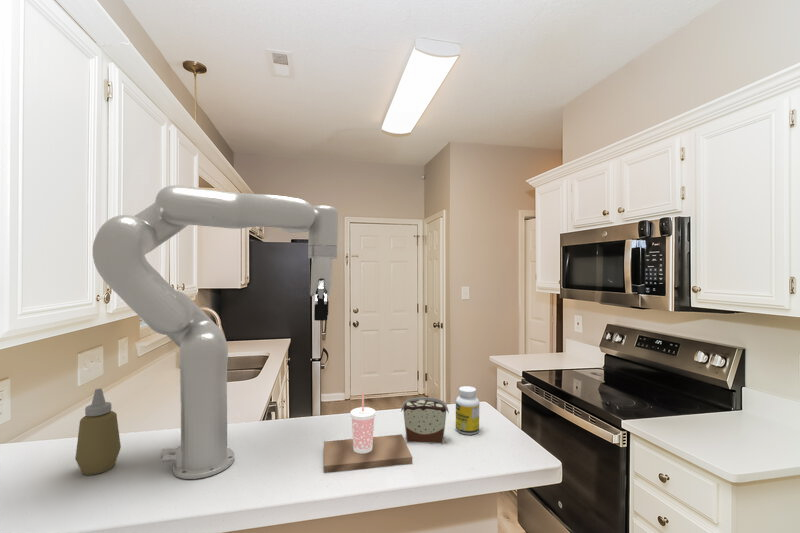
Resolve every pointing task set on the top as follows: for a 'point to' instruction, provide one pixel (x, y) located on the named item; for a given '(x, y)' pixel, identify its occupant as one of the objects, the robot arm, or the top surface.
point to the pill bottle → (467, 411)
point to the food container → (424, 420)
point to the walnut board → (366, 454)
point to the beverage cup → (362, 428)
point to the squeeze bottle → (98, 437)
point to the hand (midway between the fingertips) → (321, 317)
